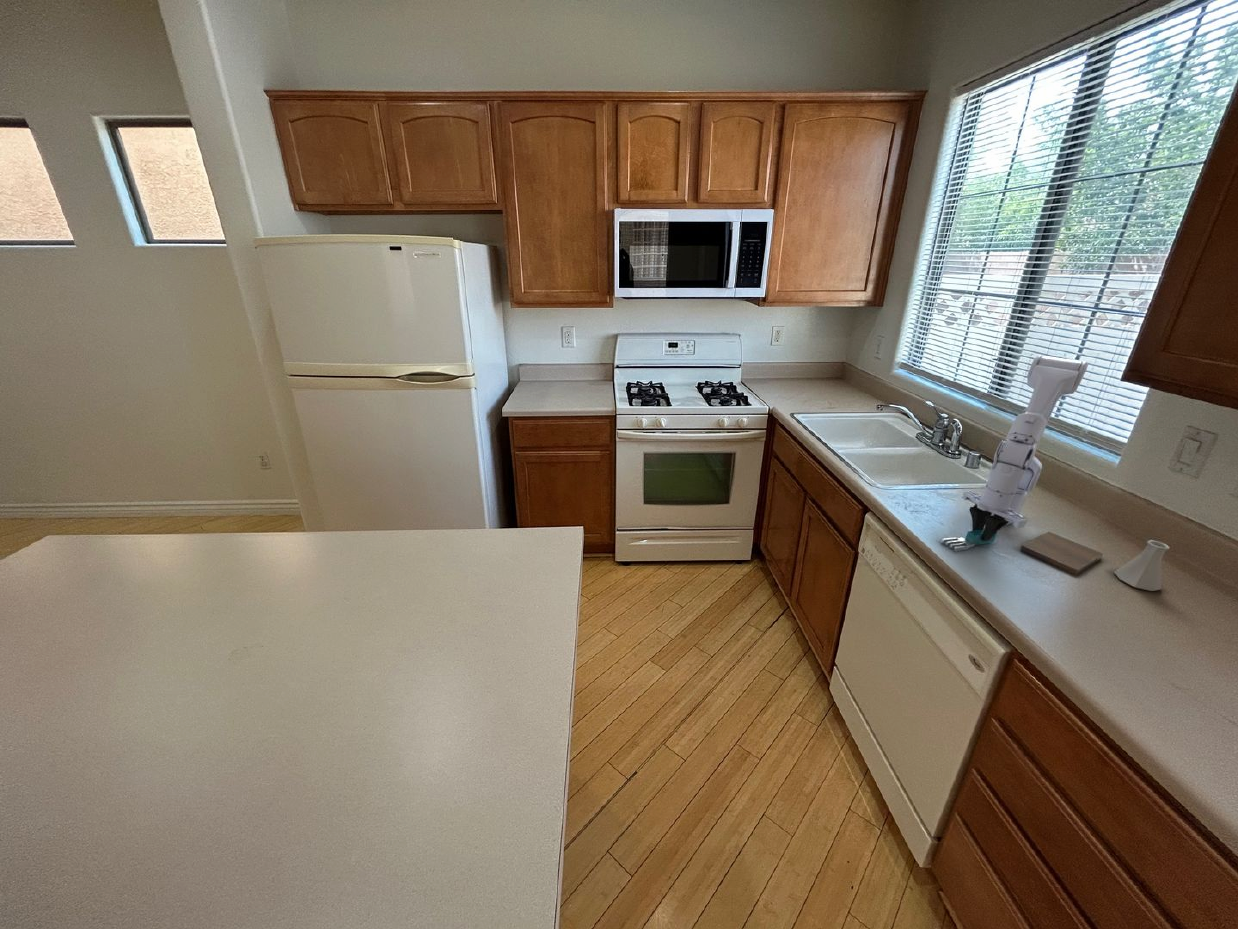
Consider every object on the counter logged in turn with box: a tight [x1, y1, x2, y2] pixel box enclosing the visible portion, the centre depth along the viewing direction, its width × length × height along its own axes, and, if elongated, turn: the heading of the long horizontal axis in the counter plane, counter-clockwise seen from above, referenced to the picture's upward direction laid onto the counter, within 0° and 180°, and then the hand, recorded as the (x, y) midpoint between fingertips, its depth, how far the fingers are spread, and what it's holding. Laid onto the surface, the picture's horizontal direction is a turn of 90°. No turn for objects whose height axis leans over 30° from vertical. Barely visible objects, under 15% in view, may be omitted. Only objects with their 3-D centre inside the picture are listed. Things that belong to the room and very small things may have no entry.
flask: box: [1113, 539, 1171, 592], centre depth 104 cm, size 7×7×10 cm
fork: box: [941, 528, 999, 552], centre depth 117 cm, size 13×4×3 cm, turn 104°
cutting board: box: [1019, 531, 1104, 576], centre depth 115 cm, size 14×11×2 cm
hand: (980, 537), depth 118 cm, fingers closed on fork, 2 cm apart
